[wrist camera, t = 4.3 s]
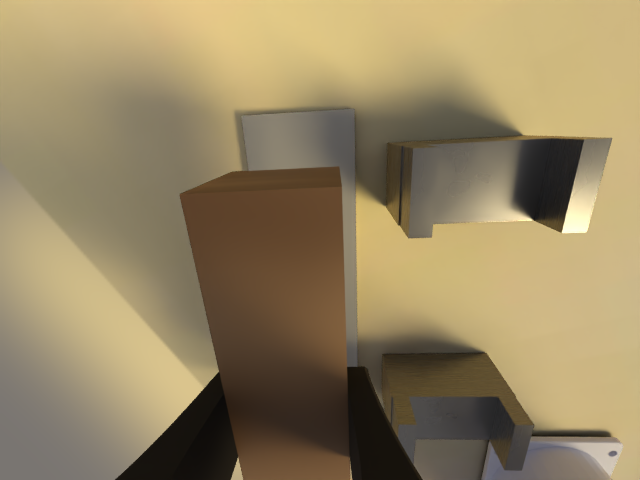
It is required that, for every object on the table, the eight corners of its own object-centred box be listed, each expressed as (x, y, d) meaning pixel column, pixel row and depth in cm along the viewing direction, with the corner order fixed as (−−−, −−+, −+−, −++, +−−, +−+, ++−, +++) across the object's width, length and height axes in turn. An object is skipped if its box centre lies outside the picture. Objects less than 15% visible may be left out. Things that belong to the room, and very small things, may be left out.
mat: (358, 409, 19) (358, 414, 19) (282, 410, 20) (281, 414, 19) (354, 108, 13) (354, 108, 13) (243, 116, 13) (241, 115, 13)
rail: (348, 460, 14) (352, 558, 11) (276, 460, 15) (260, 555, 11) (339, 166, 9) (342, 186, 6) (231, 171, 10) (179, 194, 6)
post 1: (512, 201, 14) (588, 232, 10) (385, 207, 15) (407, 238, 10) (524, 135, 13) (614, 137, 9) (387, 142, 13) (411, 148, 9)
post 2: (479, 392, 18) (522, 470, 14) (381, 392, 19) (395, 468, 14) (486, 353, 17) (535, 425, 13) (382, 354, 18) (397, 424, 13)
